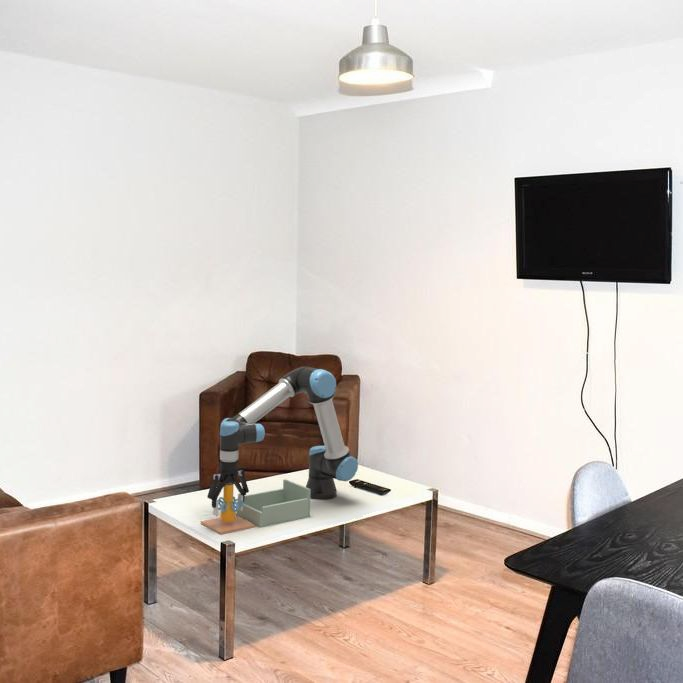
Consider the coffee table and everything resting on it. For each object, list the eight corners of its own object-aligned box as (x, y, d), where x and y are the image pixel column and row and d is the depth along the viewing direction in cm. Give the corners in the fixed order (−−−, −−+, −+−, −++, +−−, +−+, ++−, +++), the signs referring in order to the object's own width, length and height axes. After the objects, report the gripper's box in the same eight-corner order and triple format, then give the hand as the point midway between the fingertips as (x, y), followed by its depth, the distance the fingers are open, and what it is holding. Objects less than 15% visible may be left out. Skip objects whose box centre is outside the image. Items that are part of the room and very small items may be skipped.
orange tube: (214, 524, 328) (214, 488, 327) (211, 516, 338) (212, 481, 337) (244, 523, 331) (245, 486, 330) (240, 515, 341) (241, 480, 340)
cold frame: (284, 505, 364) (285, 479, 363) (309, 516, 350) (310, 489, 349) (236, 515, 348) (236, 488, 347) (260, 527, 334) (260, 498, 333)
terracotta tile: (234, 517, 346) (234, 514, 346) (254, 527, 334) (254, 524, 334) (200, 523, 336) (200, 521, 336) (220, 534, 324) (220, 532, 324)
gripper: (248, 454, 342) (247, 505, 345) (198, 461, 328) (198, 515, 330) (258, 458, 337) (257, 510, 339) (208, 465, 322) (207, 520, 324)
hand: (228, 512), depth 334 cm, fingers closed on orange tube, 11 cm apart
